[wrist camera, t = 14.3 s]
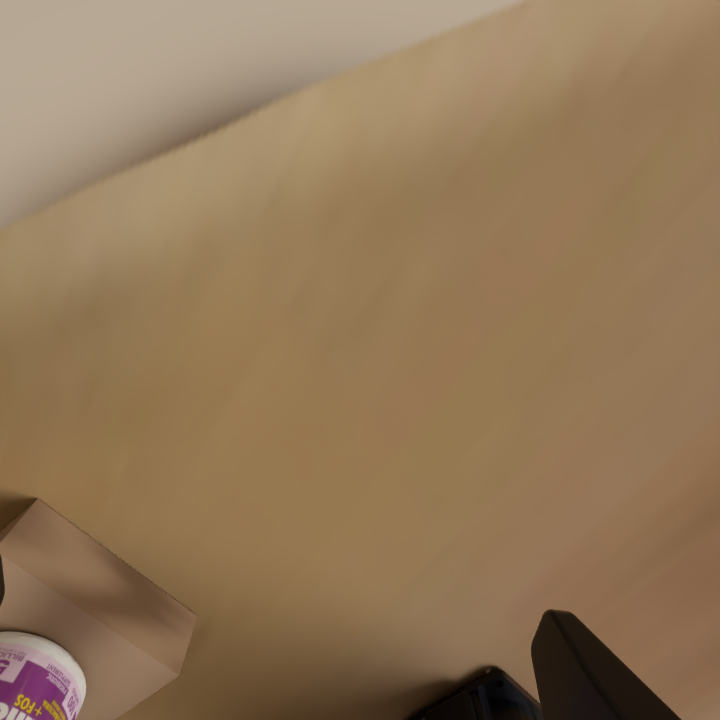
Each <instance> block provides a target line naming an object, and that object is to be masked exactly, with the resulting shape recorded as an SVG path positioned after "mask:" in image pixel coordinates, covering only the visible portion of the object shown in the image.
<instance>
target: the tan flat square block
mask: <svg viewBox="0 0 720 720" xmlns="http://www.w3.org/2000/svg"><path fill="white" fill-rule="evenodd" d="M0 554H1V557H2V565H3V574H4V583H5V595H4V598H3V601H2V604H1V606H0V632H9V631H10V632H23V633H28V634H32V635H36V636H40V637H43V638H46V639H48V640H50V641H52V642H54V643H56V644H58V645H59V646H61V647H62V648H63V649H64V650H66V651H67V652H69V653H70V654H71V656H72V657H73V658H74V660H75V661H76V662H77V663H78V665H79V666H80V668H81V669H82V671H83V673H84V676H85V681H86V695H85V698H84V701H83V704H82V706H81V709H80V711H79V713H78V716H77V718H76V720H116V719H117V718H119V717H120V716H121V715H123V714H124V713H126V712H127V711H129V710H130V709H132V708H133V707H135V706H136V705H137V704H139V703H140V702H142V701H143V700H145V699H146V698H148V697H149V696H151V695H152V694H153V693H155V692H156V691H158V690H159V689H161V688H162V687H164V686H165V685H167V684H168V683H169V682H171V681H172V680H174V679H175V678H177V677H178V676H179V675H180V672H181V669H182V665H183V662H184V659H185V656H186V652H187V649H188V646H189V643H190V639H191V636H192V633H193V630H194V626H195V623H196V620H197V617H198V616H197V615H195V614H194V613H193V612H191V611H190V610H188V609H187V608H186V607H184V606H183V605H182V604H180V603H179V602H178V601H176V600H175V599H174V598H172V597H171V596H169V595H168V594H167V593H165V592H164V591H163V590H161V589H160V588H159V587H157V586H156V585H154V584H153V583H152V582H150V581H149V580H148V579H146V578H145V577H144V576H142V575H141V574H139V573H138V572H137V571H135V570H134V569H133V568H131V567H130V566H129V565H127V564H126V563H125V562H123V561H122V560H120V559H119V558H118V557H116V556H115V555H114V554H112V553H111V552H110V551H108V550H107V549H105V548H104V547H103V546H101V545H100V544H99V543H97V542H96V541H95V540H93V539H92V538H91V537H89V536H88V535H86V534H85V533H84V532H82V531H81V530H80V529H78V528H77V527H76V526H74V525H73V524H71V523H70V522H69V521H67V520H66V519H65V518H63V517H62V516H61V515H59V514H58V513H56V512H55V511H54V510H52V509H51V508H50V507H48V506H47V505H46V504H44V503H43V502H42V501H40V500H39V499H37V500H36V501H35V502H33V503H32V504H31V505H30V506H29V507H28V508H27V509H25V510H24V511H23V512H22V513H21V514H20V515H19V516H18V517H16V518H15V519H14V520H13V521H12V522H11V523H10V524H8V525H7V526H6V527H5V528H4V529H3V530H2V531H0Z"/></svg>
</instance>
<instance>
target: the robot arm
mask: <svg viewBox="0 0 720 720" xmlns="http://www.w3.org/2000/svg"><path fill="white" fill-rule="evenodd" d="M4 595H5V583H4V574H3V565H2V557H1V554H0V606H1V604H2V601H3V598H4ZM531 657H532V662H533V668H534V673H535V678H536V683H537V689H538V694H539V699H540V704H539V703H538V702H537V701H536V700H535V699H534V698H533V697H532V696H531V695H530V694H528V693H527V692H526V691H525V690H524V689H523V688H522V687H521V686H520V685H519V684H517V683H516V682H515V681H514V680H513V679H512V678H511V677H510V676H509V675H508V674H507V673H505V672H504V671H502V670H493V671H491V672H489V673H487V674H485V675H484V676H482V677H480V678H478V679H477V680H475V681H473V682H471V683H470V684H468V685H466V686H464V687H463V688H461V689H459V690H458V691H456V692H454V693H452V694H451V695H449V696H447V697H445V698H444V699H442V700H440V701H438V702H437V703H435V704H433V705H431V706H430V707H428V708H426V709H424V710H423V711H421V712H419V713H418V714H416V715H414V716H412V717H411V718H409V719H407V720H681V719H680V718H679V717H678V716H677V715H676V714H675V713H674V712H673V711H672V710H671V709H670V708H669V707H668V706H667V705H666V704H665V703H664V702H663V701H662V700H661V699H660V698H659V697H658V696H657V695H656V694H655V693H654V692H653V691H652V690H651V689H650V688H649V687H648V686H647V685H645V684H644V683H643V682H642V681H641V680H640V679H639V678H638V677H637V676H636V675H635V674H634V673H633V672H632V671H631V670H630V669H629V668H628V667H627V666H626V665H625V664H624V663H623V662H622V661H621V660H620V659H619V658H618V657H617V656H616V655H615V654H614V653H613V652H612V651H611V650H610V649H609V648H608V647H607V646H606V645H605V644H604V643H603V642H602V641H600V640H599V639H598V638H597V637H596V636H595V635H594V634H593V633H592V632H591V631H590V630H589V629H588V628H587V627H586V626H585V625H584V624H583V623H582V622H581V621H580V620H579V619H578V618H577V617H576V616H575V615H574V614H572V613H571V612H568V611H562V610H552V609H549V610H547V611H546V612H544V614H543V616H542V619H541V621H540V624H539V626H538V629H537V631H536V633H535V636H534V638H533V641H532V646H531Z"/></svg>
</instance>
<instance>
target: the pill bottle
mask: <svg viewBox="0 0 720 720" xmlns="http://www.w3.org/2000/svg"><path fill="white" fill-rule="evenodd" d="M85 695H86V681H85V676H84V673H83V671H82V669H81V668H80V666H79V665H78V663H77V662H76V661H75V660H74V658H73V657H72V656H71V654H70V653H69V652H67V651H66V650H64V649H63V648H62V647H61V646H59V645H58V644H56V643H54V642H52V641H50V640H48V639H46V638H43V637H40V636H36V635H32V634H28V633H23V632H10V631H9V632H0V720H76V718H77V716H78V713H79V711H80V709H81V706H82V704H83V701H84V698H85Z"/></svg>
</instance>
